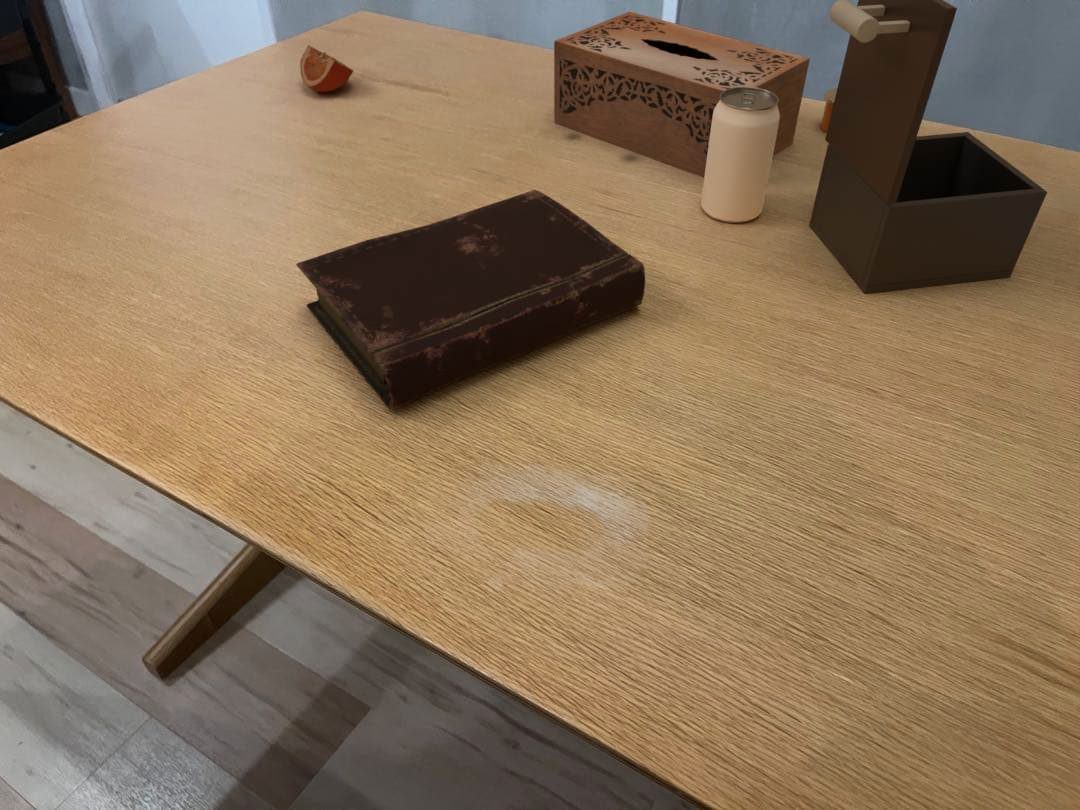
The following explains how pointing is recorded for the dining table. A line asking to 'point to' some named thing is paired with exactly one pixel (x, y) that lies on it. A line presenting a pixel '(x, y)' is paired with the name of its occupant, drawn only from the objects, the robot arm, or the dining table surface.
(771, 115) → the can
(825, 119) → the cylinder
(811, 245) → the dining table surface
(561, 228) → the diary
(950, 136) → the dark brown storage bin
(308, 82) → the fruit slice
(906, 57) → the lid
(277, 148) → the dining table surface
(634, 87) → the tissue box cover
